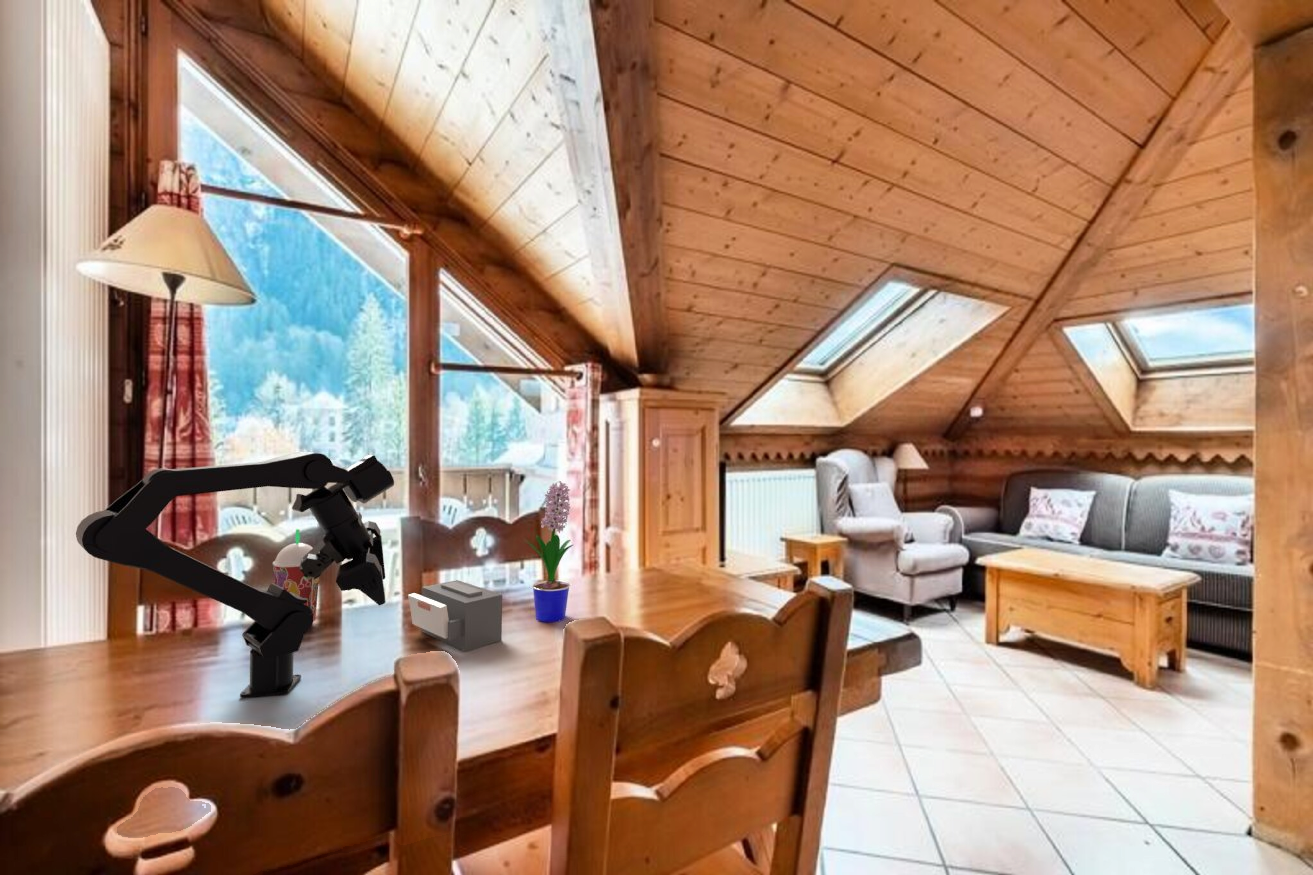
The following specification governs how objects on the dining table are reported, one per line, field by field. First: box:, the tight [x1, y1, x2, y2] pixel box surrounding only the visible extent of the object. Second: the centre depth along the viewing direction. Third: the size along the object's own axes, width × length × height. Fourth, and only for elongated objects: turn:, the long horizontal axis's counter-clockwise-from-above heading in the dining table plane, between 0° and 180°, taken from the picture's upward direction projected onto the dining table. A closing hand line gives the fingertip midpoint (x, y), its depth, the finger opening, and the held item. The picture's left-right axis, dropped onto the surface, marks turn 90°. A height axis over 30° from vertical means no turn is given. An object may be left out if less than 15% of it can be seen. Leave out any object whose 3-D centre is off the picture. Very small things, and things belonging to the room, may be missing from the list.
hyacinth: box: [524, 480, 574, 623], centre depth 131 cm, size 9×10×30 cm
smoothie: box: [272, 529, 320, 628], centre depth 121 cm, size 8×8×20 cm
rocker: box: [407, 592, 449, 639], centre depth 113 cm, size 1×12×6 cm, turn 49°
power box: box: [420, 579, 503, 652], centre depth 118 cm, size 10×16×10 cm, turn 50°
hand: (382, 591), depth 107 cm, fingers open, 9 cm apart
